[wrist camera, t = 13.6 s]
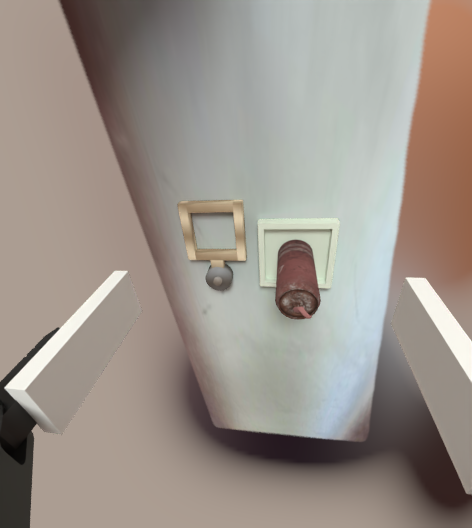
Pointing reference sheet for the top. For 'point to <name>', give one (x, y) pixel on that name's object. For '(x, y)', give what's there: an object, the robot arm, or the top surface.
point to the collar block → (218, 271)
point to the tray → (308, 230)
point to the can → (296, 280)
